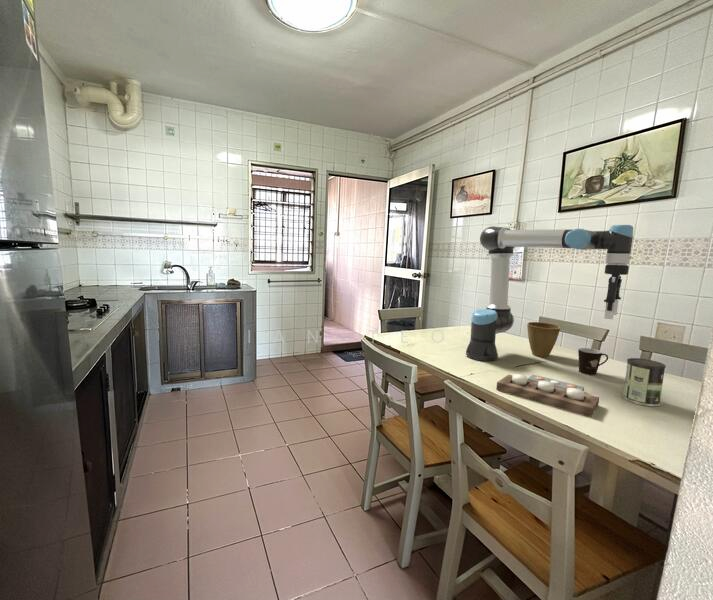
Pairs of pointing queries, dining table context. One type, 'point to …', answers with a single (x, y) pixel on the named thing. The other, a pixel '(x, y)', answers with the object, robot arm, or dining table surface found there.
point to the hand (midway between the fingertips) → (610, 316)
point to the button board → (549, 396)
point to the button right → (575, 394)
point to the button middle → (546, 386)
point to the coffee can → (644, 381)
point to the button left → (519, 379)
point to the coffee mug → (589, 360)
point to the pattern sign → (555, 382)
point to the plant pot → (542, 337)
